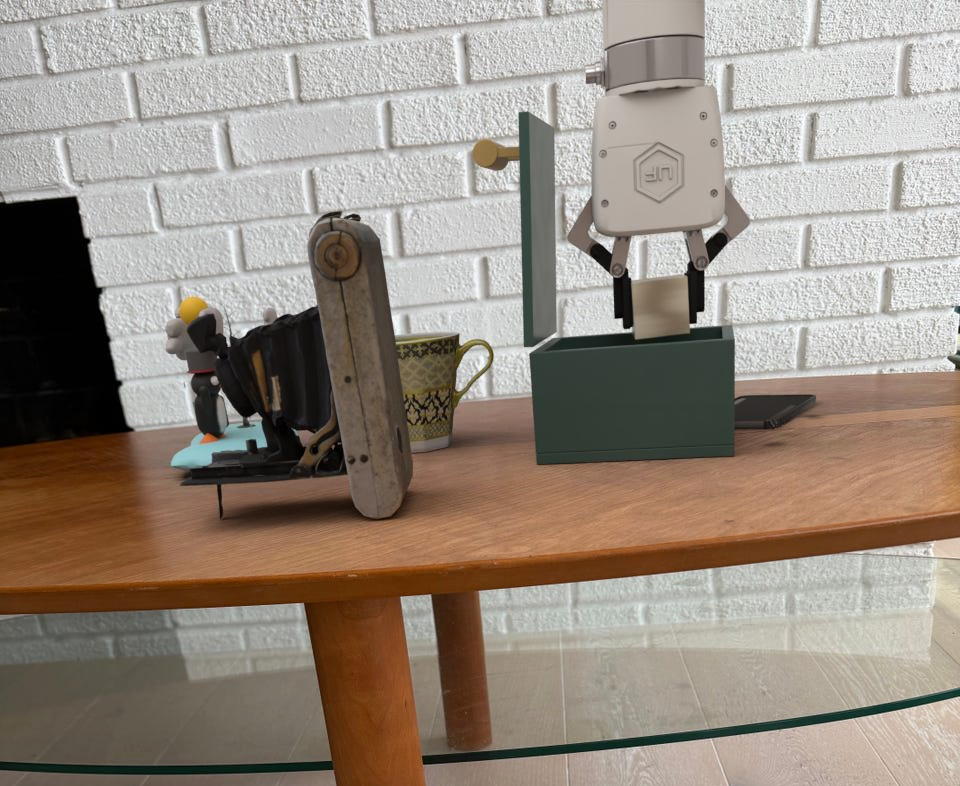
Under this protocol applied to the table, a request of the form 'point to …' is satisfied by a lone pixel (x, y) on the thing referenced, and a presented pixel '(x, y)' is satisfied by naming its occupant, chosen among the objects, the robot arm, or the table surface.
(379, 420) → the vintage camera
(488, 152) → the lid
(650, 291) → the block
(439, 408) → the ceramic cup
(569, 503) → the table surface
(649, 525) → the table surface
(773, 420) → the phone
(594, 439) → the chest
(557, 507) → the table surface
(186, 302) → the penguin figurine
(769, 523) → the table surface
